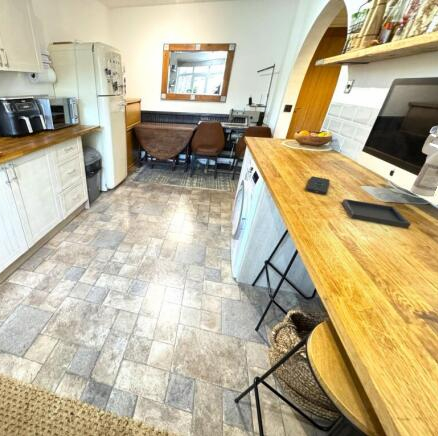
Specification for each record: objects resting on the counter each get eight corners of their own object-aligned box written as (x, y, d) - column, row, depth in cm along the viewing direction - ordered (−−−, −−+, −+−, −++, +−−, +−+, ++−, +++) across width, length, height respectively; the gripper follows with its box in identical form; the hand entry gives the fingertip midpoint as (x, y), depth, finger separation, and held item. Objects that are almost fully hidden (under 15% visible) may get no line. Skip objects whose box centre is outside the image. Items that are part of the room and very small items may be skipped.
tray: (391, 210, 96) (393, 206, 95) (407, 228, 84) (411, 223, 83) (341, 202, 101) (343, 198, 100) (351, 218, 90) (353, 213, 89)
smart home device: (306, 187, 111) (311, 175, 125) (305, 190, 112) (310, 178, 126) (327, 191, 107) (330, 179, 121) (326, 195, 108) (328, 182, 122)
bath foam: (417, 189, 95) (447, 136, 85) (440, 195, 89) (474, 140, 79) (404, 191, 94) (433, 138, 84) (426, 198, 88) (460, 142, 78)
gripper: (493, 138, 71) (463, 182, 78) (452, 128, 87) (430, 164, 94) (464, 137, 73) (437, 179, 80) (429, 127, 90) (409, 163, 96)
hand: (433, 171), depth 87 cm, fingers closed on bath foam, 7 cm apart
